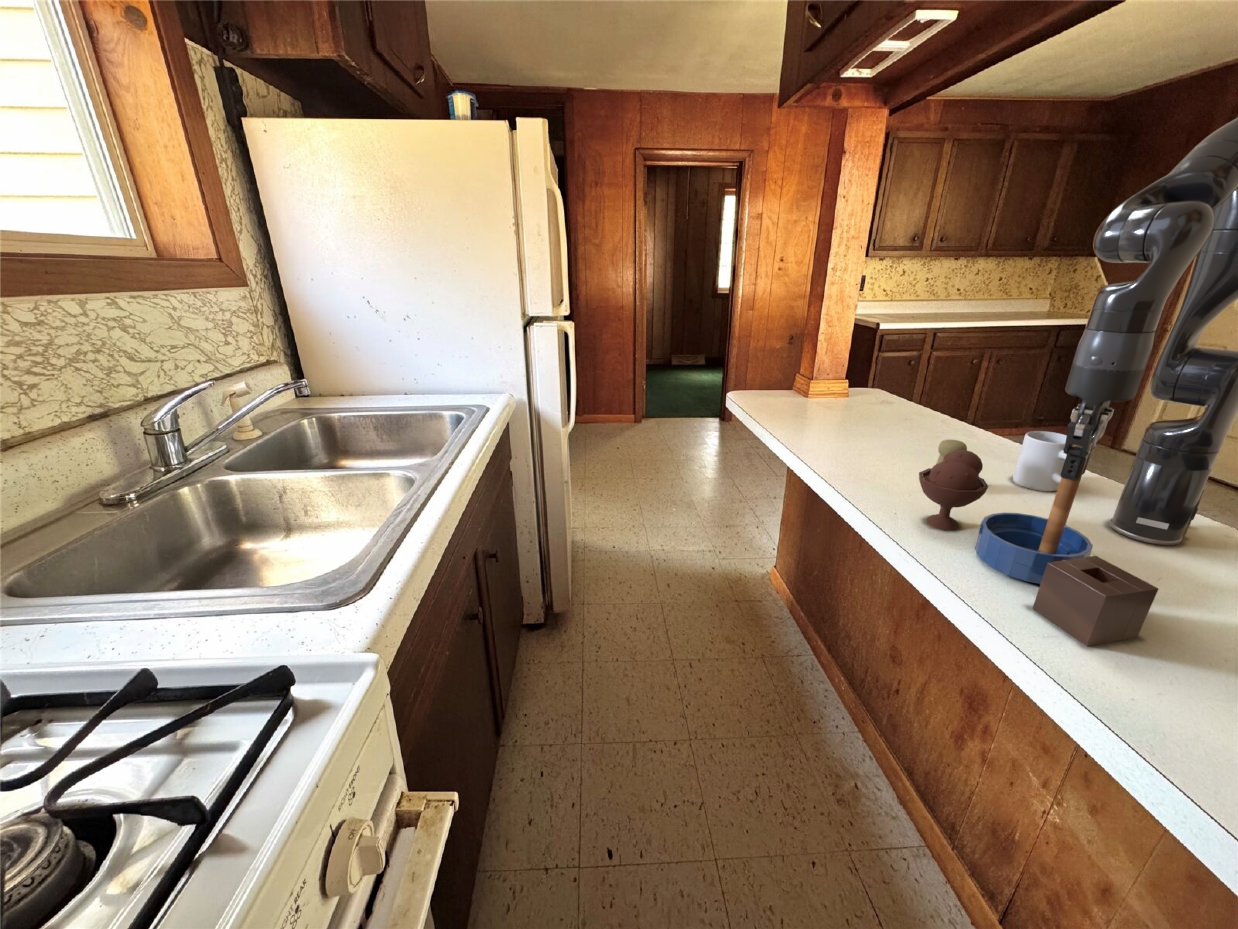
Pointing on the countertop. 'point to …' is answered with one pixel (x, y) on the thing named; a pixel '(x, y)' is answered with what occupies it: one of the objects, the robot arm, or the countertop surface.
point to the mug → (1041, 461)
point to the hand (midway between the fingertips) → (1072, 475)
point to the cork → (949, 448)
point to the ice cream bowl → (952, 486)
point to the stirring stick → (1059, 514)
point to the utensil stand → (1094, 600)
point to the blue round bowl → (1024, 545)
